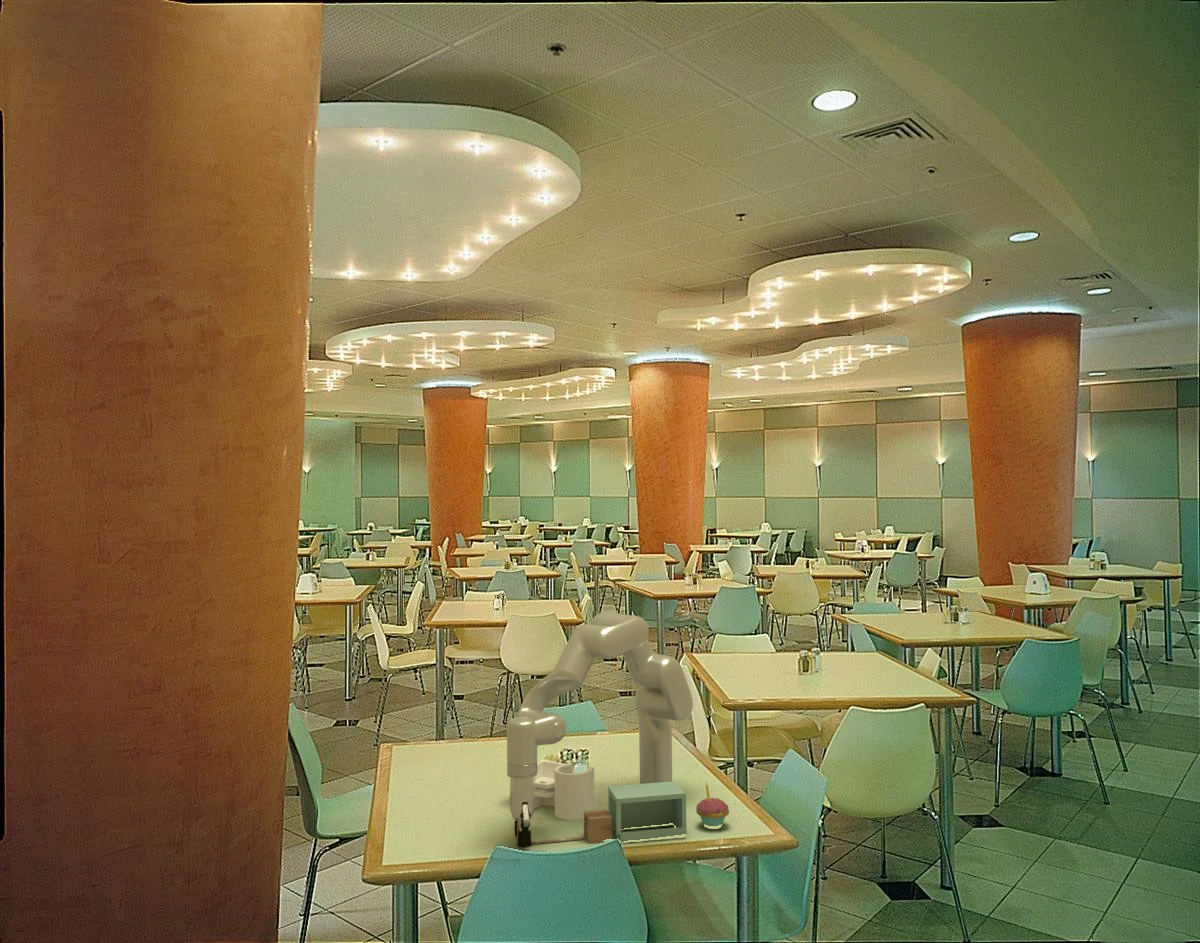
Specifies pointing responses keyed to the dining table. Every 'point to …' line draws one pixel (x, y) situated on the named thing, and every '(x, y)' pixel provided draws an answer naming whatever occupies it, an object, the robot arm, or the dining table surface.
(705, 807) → the cupcake
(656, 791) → the plain rectangular box
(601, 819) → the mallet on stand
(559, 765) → the bracket
